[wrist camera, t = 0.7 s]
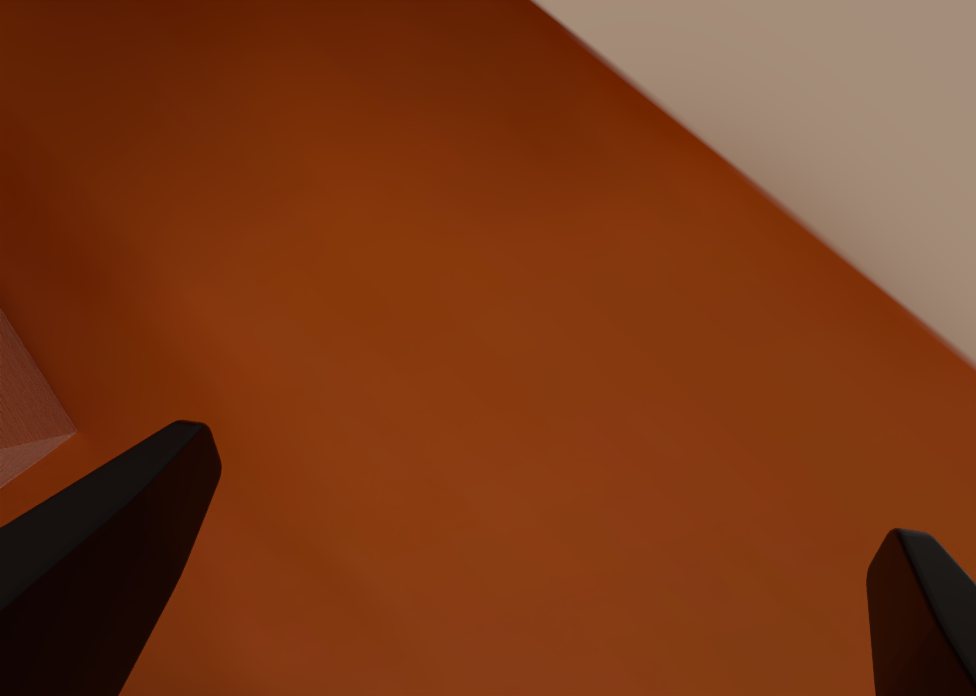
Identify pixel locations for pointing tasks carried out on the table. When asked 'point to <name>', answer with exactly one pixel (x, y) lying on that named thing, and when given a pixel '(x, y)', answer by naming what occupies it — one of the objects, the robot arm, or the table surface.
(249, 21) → the table surface
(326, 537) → the table surface
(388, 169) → the table surface
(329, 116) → the table surface
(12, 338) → the cream block
